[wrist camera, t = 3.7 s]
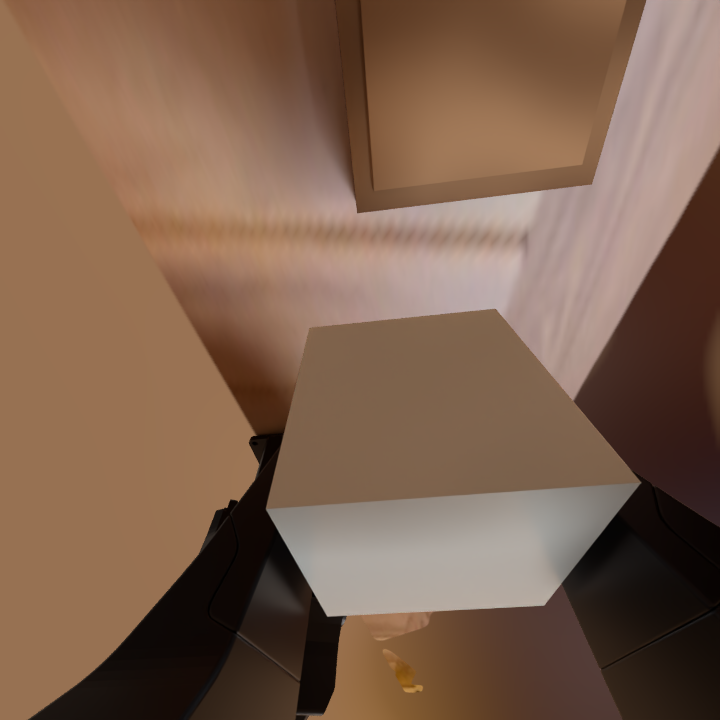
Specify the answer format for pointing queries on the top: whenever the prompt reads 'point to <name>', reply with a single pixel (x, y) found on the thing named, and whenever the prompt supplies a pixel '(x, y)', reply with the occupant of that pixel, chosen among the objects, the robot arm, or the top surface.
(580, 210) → the top surface
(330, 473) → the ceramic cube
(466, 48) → the walnut plinth
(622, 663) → the robot arm
